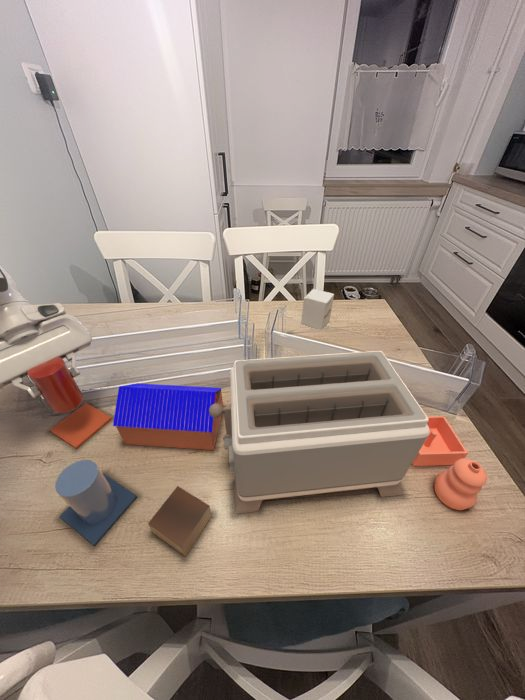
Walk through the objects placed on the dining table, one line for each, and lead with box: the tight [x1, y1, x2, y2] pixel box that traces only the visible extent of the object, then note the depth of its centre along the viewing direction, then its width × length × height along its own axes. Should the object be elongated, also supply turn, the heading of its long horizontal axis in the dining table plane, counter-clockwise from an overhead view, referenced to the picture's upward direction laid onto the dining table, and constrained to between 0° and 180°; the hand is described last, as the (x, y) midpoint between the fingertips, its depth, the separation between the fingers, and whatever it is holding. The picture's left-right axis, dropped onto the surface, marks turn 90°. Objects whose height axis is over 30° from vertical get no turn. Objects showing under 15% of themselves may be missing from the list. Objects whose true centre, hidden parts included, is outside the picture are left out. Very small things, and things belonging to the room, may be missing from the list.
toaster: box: [209, 350, 430, 515], centre depth 54 cm, size 19×34×20 cm, turn 96°
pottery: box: [411, 415, 488, 511], centre depth 56 cm, size 18×10×10 cm, turn 2°
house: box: [112, 382, 224, 451], centre depth 63 cm, size 12×20×12 cm, turn 86°
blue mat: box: [59, 472, 138, 547], centre depth 52 cm, size 9×9×1 cm
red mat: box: [49, 402, 113, 449], centre depth 66 cm, size 9×9×1 cm
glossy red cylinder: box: [27, 357, 84, 414], centre depth 58 cm, size 6×6×10 cm
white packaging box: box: [300, 288, 335, 330], centre depth 93 cm, size 7×7×13 cm
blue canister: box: [54, 459, 117, 524], centre depth 49 cm, size 6×6×10 cm
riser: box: [147, 485, 213, 557], centre depth 49 cm, size 7×7×4 cm
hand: (58, 385), depth 58 cm, fingers closed on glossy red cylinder, 6 cm apart
